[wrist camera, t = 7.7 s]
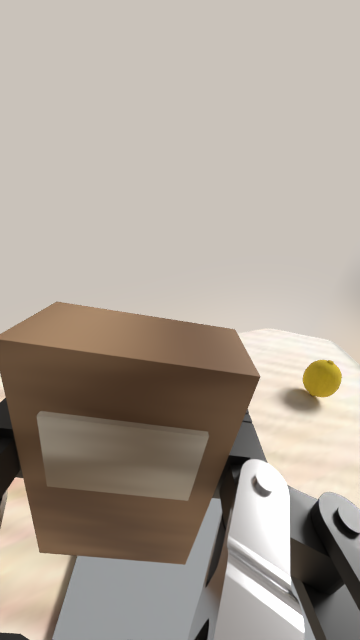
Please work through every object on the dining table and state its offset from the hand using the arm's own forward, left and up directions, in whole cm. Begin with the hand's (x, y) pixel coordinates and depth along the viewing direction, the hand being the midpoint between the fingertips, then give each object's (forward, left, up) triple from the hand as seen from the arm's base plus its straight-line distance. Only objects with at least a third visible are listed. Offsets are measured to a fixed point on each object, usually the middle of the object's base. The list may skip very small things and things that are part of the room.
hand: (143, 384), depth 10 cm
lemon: (+31, +22, -18) cm, 42 cm away
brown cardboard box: (0, -3, -6) cm, 6 cm away
